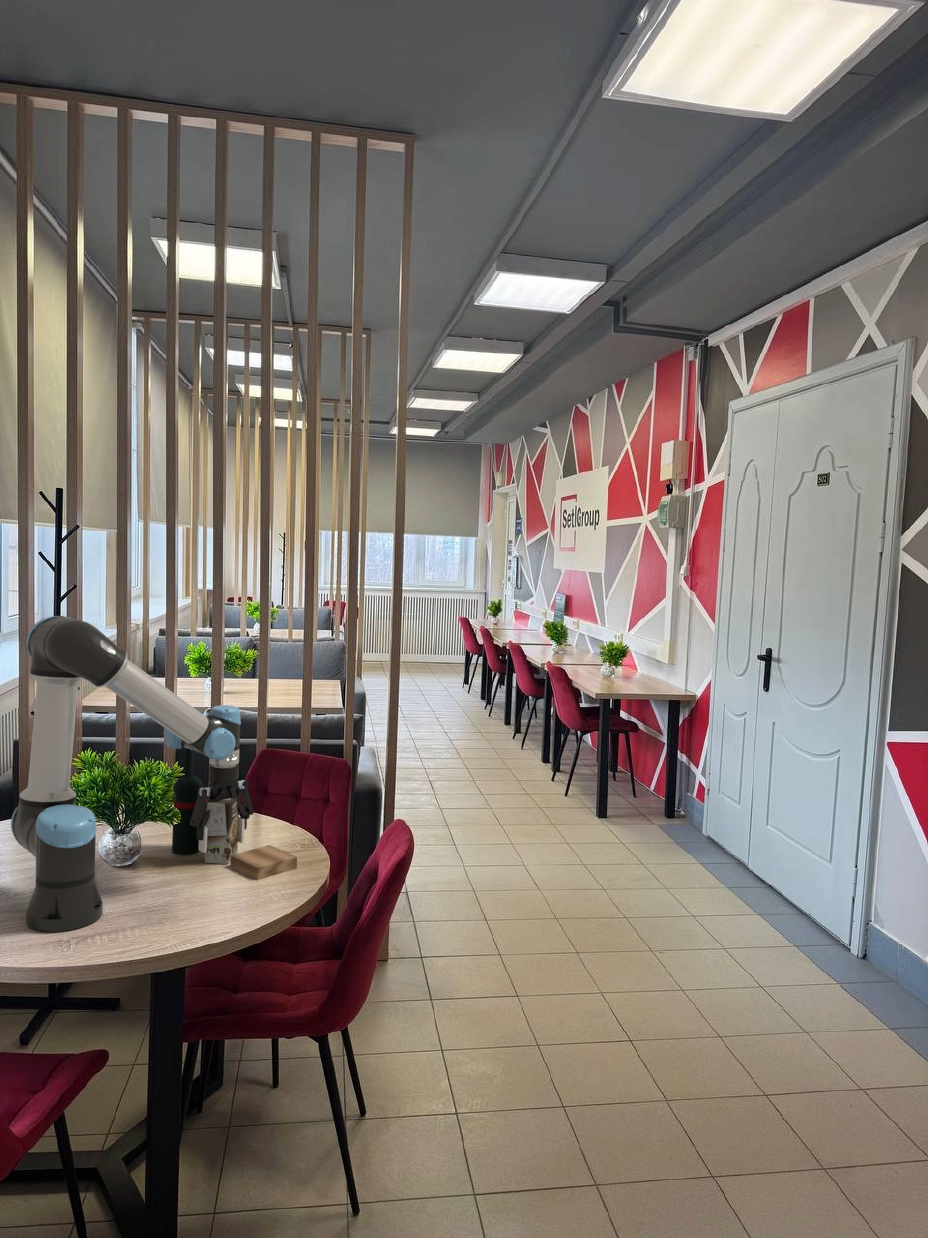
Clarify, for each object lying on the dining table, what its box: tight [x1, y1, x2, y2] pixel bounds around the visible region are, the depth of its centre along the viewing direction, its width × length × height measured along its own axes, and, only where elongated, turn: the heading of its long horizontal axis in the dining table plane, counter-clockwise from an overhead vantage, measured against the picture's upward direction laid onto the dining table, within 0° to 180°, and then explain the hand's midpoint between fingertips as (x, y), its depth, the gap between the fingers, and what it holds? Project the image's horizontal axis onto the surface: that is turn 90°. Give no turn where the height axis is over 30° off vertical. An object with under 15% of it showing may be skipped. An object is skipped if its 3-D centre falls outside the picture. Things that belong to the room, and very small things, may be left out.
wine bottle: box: [171, 748, 208, 857], centre depth 226 cm, size 8×10×30 cm
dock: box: [229, 844, 298, 881], centre depth 217 cm, size 12×12×3 cm
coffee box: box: [204, 793, 240, 865], centre depth 222 cm, size 9×6×16 cm
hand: (221, 846), depth 222 cm, fingers closed on coffee box, 11 cm apart
